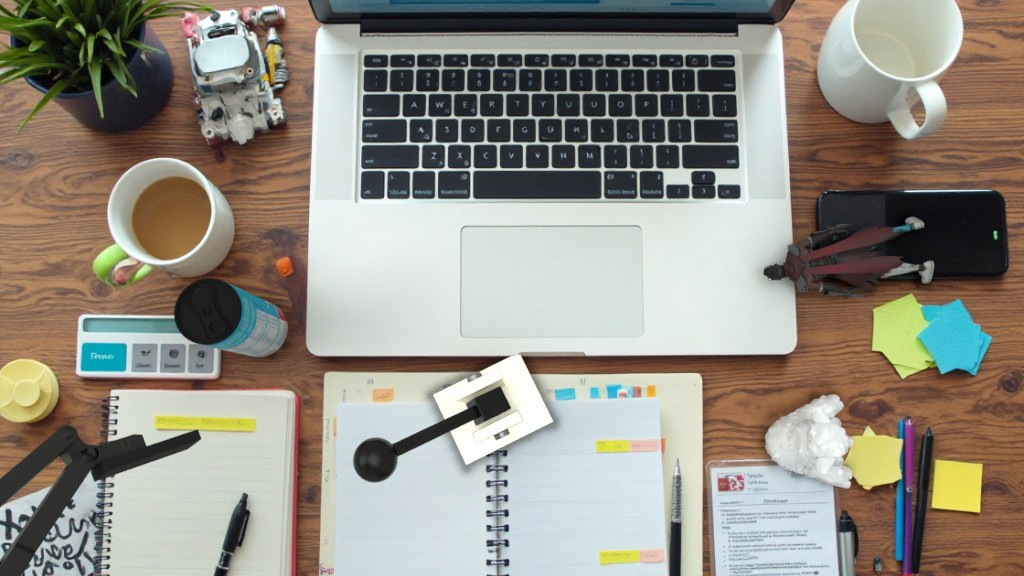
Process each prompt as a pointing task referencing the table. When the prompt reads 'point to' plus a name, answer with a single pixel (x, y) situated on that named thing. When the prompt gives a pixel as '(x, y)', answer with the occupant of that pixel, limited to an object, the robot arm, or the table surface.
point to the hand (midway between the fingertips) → (227, 528)
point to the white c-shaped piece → (505, 427)
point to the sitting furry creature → (812, 442)
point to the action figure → (846, 260)
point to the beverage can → (229, 319)
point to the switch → (423, 437)
